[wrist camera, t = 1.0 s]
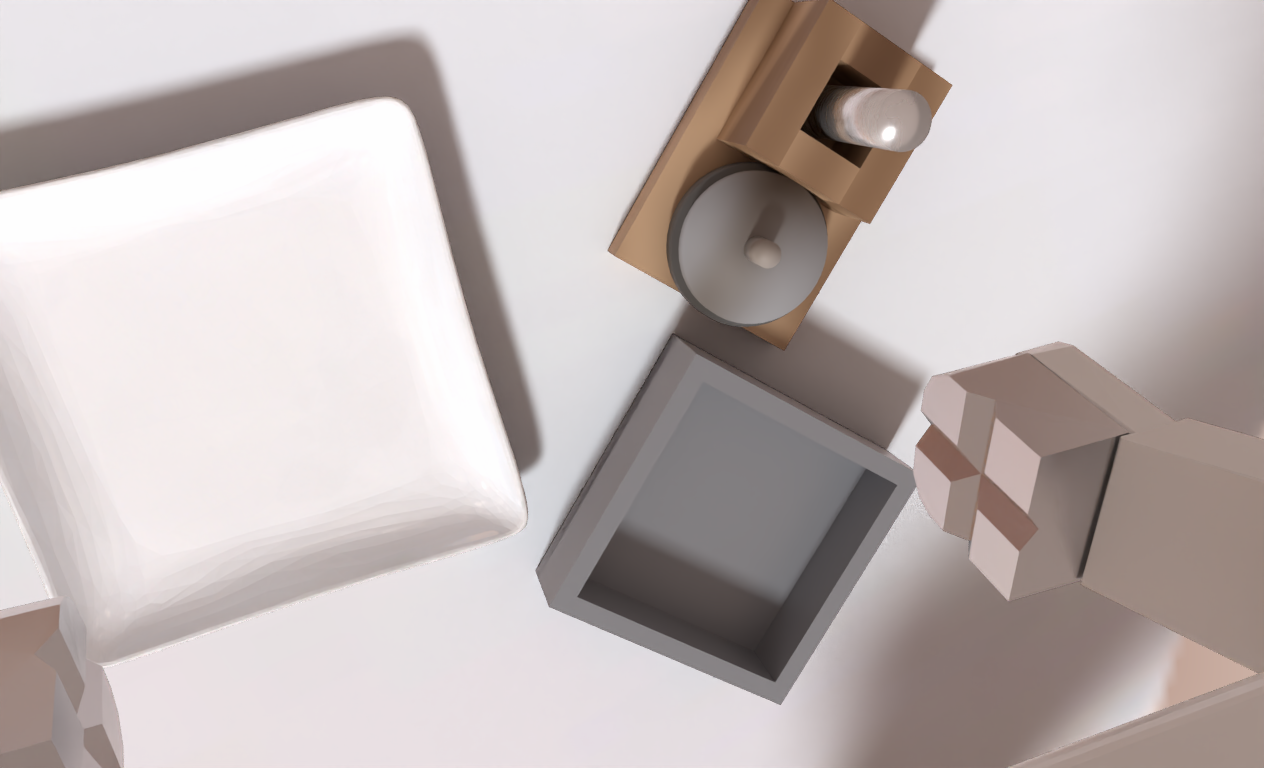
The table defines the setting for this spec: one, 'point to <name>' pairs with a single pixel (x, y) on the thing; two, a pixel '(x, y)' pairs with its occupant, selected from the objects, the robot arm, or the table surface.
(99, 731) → the robot arm
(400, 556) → the salad plate
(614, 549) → the tray
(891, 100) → the lock pin
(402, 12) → the table surface
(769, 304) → the pulley bracket
